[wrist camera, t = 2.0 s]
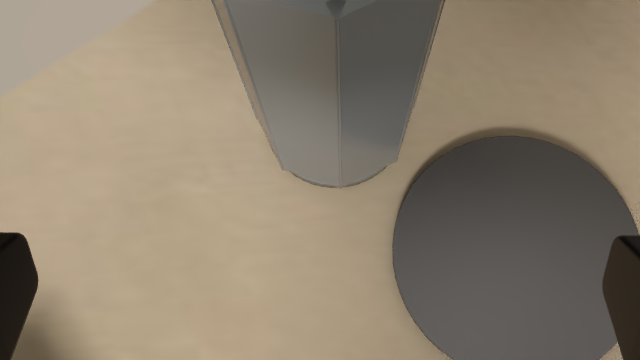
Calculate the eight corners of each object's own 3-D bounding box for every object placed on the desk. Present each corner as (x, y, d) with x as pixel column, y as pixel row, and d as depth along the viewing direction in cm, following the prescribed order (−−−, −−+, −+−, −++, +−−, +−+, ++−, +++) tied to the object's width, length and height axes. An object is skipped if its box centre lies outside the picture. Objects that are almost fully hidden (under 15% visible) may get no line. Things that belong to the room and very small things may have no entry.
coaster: (659, 179, 23) (665, 176, 23) (610, 418, 21) (615, 419, 21) (430, 111, 24) (432, 107, 24) (361, 332, 22) (361, 331, 22)
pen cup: (423, 78, 25) (504, -198, 12) (382, 207, 23) (425, 45, 11) (292, 39, 25) (242, -259, 13) (244, 163, 24) (136, -37, 12)
